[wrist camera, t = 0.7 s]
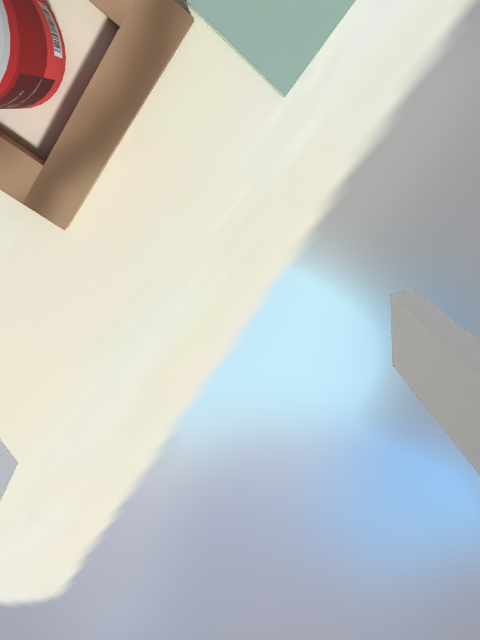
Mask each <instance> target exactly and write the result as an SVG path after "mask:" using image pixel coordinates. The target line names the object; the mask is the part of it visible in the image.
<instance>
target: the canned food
mask: <svg viewBox="0 0 480 640" xmlns="http://www.w3.org/2000/svg"><path fill="white" fill-rule="evenodd" d="M65 60H66V56H65V47H64V42H63V38H62V34H61V30H60V28H59V26H58V24H57V21H56V19H55V17H54V15H53V13H52V12H51V10H50V9H49V7H48V5H47V4H46V2H45V1H44V0H0V109H19V108H32V107H35V106H38V105H41V104H42V103H44V102H45V101H47V100H49V99H50V98H51V97H52V96H53V95H54V93H55V92H56V91H57V89H58V88H59V86H60V84H61V82H62V79H63V75H64V71H65Z"/></svg>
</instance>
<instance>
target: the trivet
mask: <svg viewBox="0 0 480 640" xmlns="http://www.w3.org/2000/svg"><path fill="white" fill-rule="evenodd" d="M355 1H356V0H186V4H187V5H188V6H190V7H191V8H192V9H193V10H194V11H195V12H196V13H197V14H198V15H199V16H200V17H201V18H202V19H203V20H204V21H205V22H206V23H207V24H208V25H209V26H210V27H211V28H212V29H213V30H214V31H215V32H216V33H217V34H218V35H219V36H220V37H221V38H222V39H224V40H225V41H226V42H227V43H228V44H229V45H230V46H231V47H232V48H233V49H234V50H235V51H236V52H237V53H238V54H239V55H240V56H241V57H242V58H243V59H244V60H245V61H246V62H247V63H248V64H249V65H250V66H251V67H252V68H253V69H254V70H255V71H256V72H258V73H259V74H260V75H261V76H262V77H263V78H264V79H265V80H266V81H267V82H268V83H269V84H270V85H271V86H272V87H273V88H274V89H275V90H276V91H277V92H278V93H279V94H280V95H281V96H282V97H285V96H286V95H287V94H288V92H289V91H290V90H291V88H292V87H293V85H294V84H295V83H296V81H297V80H298V79H299V77H300V76H301V74H302V73H303V72H304V70H305V69H306V68H307V66H308V65H309V64H310V62H311V61H312V59H313V58H314V57H315V55H316V54H317V53H318V51H319V50H320V48H321V47H322V46H323V44H324V43H325V42H326V40H327V39H328V38H329V36H330V35H331V33H332V32H333V31H334V29H335V28H336V27H337V25H338V24H339V22H340V21H341V20H342V18H343V17H344V16H345V14H346V13H347V11H348V10H349V9H350V7H351V6H352V5H353V3H354V2H355Z"/></svg>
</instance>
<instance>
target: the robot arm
mask: <svg viewBox="0 0 480 640" xmlns="http://www.w3.org/2000/svg"><path fill="white" fill-rule="evenodd" d="M390 301H391V302H390V304H391V333H392V359H393V367H394V368H395V369H396V370H397V372H398V373H399V374H400V375H401V377H402V378H403V379H404V381H406V383H407V384H408V386H409V387H410V388H411V389H412V391H413V392H414V393H415V394H416V396H417V397H418V398H419V399H420V401H421V402H422V403H423V404H424V406H425V407H426V408H427V410H428V411H429V412H430V413H431V414H432V416H433V417H434V418H435V419H436V421H437V422H438V423H439V425H440V426H441V427H442V428H443V430H444V431H445V432H446V433H447V435H448V436H449V437H450V438H451V440H452V441H453V442H454V444H455V445H456V446H457V447H458V448H459V450H460V451H461V452H462V453H463V455H464V456H465V457H466V459H467V460H468V461H469V462H470V464H471V465H472V466H473V468H474V469H475V470H476V471H477V473H478V474H479V475H480V341H479V340H478V339H477V338H475V337H474V336H473V335H472V334H471V333H469V332H468V331H467V330H466V329H464V328H463V327H462V326H460V325H459V324H458V323H457V322H456V321H454V320H453V319H452V318H451V317H449V316H448V315H447V314H446V313H444V312H443V311H442V310H441V309H439V308H438V307H437V306H436V305H435V304H433V303H432V302H431V301H430V300H428V299H427V298H426V297H424V296H423V295H422V294H421V293H419V292H418V291H417V290H416V289H410V290H406V291H402V292H398V293H395V294H391V295H390ZM17 464H18V462H17V461H16V459H15V458H14V457H13V455H12V454H11V453H10V451H9V450H8V449H7V447H6V446H5V445H4V443H3V442H2V441H1V439H0V501H1V499H2V496H3V494H4V492H5V490H6V488H7V485H8V483H9V481H10V479H11V477H12V475H13V472H14V470H15V468H16V466H17Z"/></svg>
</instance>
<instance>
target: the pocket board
mask: <svg viewBox="0 0 480 640" xmlns="http://www.w3.org/2000/svg"><path fill="white" fill-rule="evenodd" d="M89 1H90V2H91V3H93V4H94V5H95V6H96V7H97V8H98V9H99V10H101V11H102V12H103V13H104V14H105V15H106V16H107V17H109V18H110V19H111V20H112V21H113V22H114V23H115V24H117V25H118V26H119V27H120V28H119V30H118V31H117V33H116V35H115V37H114V39H113V41H112V42H111V44H110V46H109V48H108V50H107V51H106V53H105V55H104V57H103V59H102V60H101V62H100V64H99V66H98V68H97V69H96V71H95V73H94V75H93V77H92V79H91V80H90V82H89V84H88V86H87V88H86V89H85V91H84V93H83V95H82V97H81V98H80V100H79V102H78V104H77V106H76V107H75V109H74V111H73V113H72V115H71V117H70V118H69V120H68V122H67V124H66V126H65V127H64V129H63V131H62V133H61V135H60V136H59V138H58V140H57V142H56V144H55V145H54V147H53V149H52V151H51V153H50V155H49V156H48V158H47V160H46V162H45V161H43V160H42V159H40V158H39V157H38V156H36V155H35V154H33V153H32V152H30V151H29V150H27V149H26V148H24V147H23V146H22V145H20V144H19V143H17V142H16V141H14V140H13V139H11V138H10V137H8V136H7V135H5V134H4V133H3V132H1V131H0V190H2V191H3V192H5V193H6V194H8V195H10V196H11V197H13V198H14V199H16V200H17V201H19V202H21V203H22V204H24V205H25V206H27V207H29V208H30V209H32V210H33V211H35V212H36V213H38V214H40V215H41V216H43V217H44V218H46V219H48V220H49V221H51V222H52V223H54V224H55V225H57V226H59V227H60V228H62V229H63V230H65V229H66V228H67V227H69V225H70V223H71V222H72V220H73V218H74V217H75V215H76V213H77V212H78V210H79V209H80V207H81V205H82V204H83V202H84V200H85V199H86V197H87V195H88V194H89V192H90V191H91V189H92V187H93V186H94V184H95V182H96V181H97V179H98V177H99V176H100V174H101V173H102V171H103V169H104V168H105V166H106V164H107V163H108V161H109V159H110V158H111V156H112V155H113V153H114V151H115V150H116V148H117V146H118V145H119V143H120V141H121V140H122V138H123V136H124V135H125V133H126V132H127V130H128V128H129V127H130V125H131V123H132V122H133V120H134V118H135V117H136V115H137V114H138V112H139V110H140V109H141V107H142V105H143V104H144V102H145V100H146V99H147V97H148V96H149V94H150V92H151V91H152V89H153V87H154V86H155V84H156V82H157V81H158V79H159V78H160V76H161V74H162V73H163V71H164V69H165V68H166V66H167V64H168V63H169V61H170V60H171V58H172V56H173V55H174V53H175V51H176V50H177V48H178V46H179V45H180V43H181V41H182V40H183V38H184V37H185V35H186V33H187V32H188V30H189V28H190V27H191V25H192V23H193V22H194V18H193V17H192V16H191V15H190V14H189V13H188V12H187V11H186V10H185V9H184V8H183V7H182V6H181V5H180V4H179V3H178V2H177V1H176V0H89Z"/></svg>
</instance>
